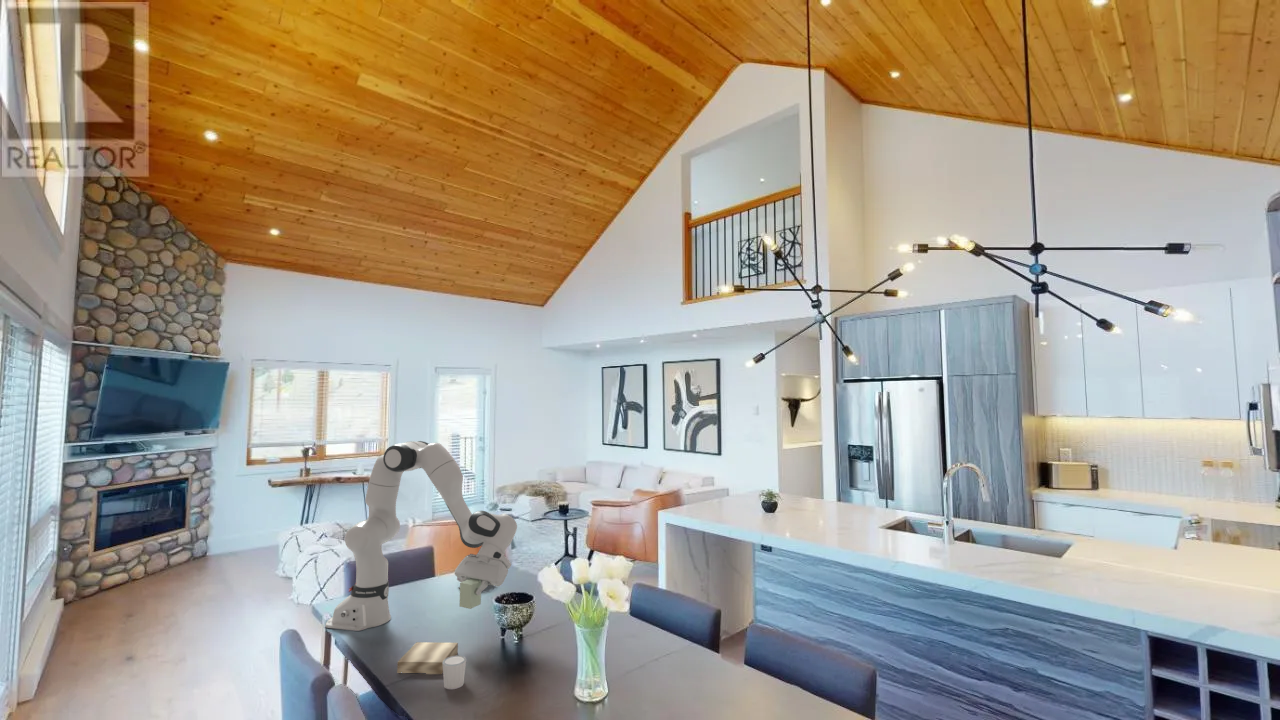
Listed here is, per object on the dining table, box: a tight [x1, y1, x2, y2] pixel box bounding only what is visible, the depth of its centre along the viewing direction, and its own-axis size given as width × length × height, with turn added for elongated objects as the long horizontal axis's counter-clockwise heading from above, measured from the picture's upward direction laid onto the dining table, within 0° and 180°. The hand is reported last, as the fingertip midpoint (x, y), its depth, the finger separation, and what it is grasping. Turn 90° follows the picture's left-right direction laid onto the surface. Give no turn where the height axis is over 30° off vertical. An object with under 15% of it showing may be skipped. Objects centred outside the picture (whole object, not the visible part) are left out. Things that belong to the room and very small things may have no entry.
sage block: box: [459, 579, 482, 610], centre depth 194 cm, size 5×5×8 cm
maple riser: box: [396, 641, 459, 675], centre depth 180 cm, size 14×14×4 cm
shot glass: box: [442, 654, 467, 690], centre depth 167 cm, size 7×7×7 cm
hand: (469, 592), depth 194 cm, fingers closed on sage block, 5 cm apart
